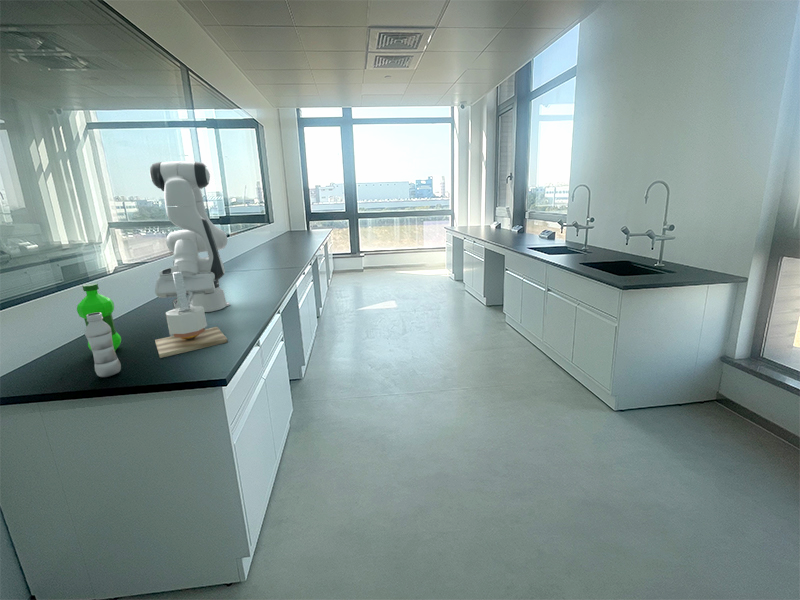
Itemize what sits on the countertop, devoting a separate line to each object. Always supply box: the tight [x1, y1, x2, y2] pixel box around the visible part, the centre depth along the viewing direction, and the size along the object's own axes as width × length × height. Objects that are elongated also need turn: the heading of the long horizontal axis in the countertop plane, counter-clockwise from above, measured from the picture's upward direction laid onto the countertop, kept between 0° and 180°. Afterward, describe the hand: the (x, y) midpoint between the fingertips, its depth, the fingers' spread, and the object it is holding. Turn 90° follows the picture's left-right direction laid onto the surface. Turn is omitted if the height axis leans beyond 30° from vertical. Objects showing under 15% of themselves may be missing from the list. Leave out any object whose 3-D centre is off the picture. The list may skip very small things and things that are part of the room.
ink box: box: [165, 297, 180, 337], centre depth 156 cm, size 4×8×15 cm, turn 17°
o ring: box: [174, 328, 206, 337], centre depth 146 cm, size 10×10×2 cm
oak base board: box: [154, 326, 228, 359], centre depth 147 cm, size 18×22×2 cm
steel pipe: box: [173, 272, 199, 341], centre depth 144 cm, size 6×6×26 cm
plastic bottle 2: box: [84, 312, 122, 378], centre depth 120 cm, size 6×7×20 cm
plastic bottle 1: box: [76, 283, 122, 352], centre depth 140 cm, size 10×10×25 cm
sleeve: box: [165, 305, 208, 334], centre depth 145 cm, size 12×12×7 cm
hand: (185, 304), depth 148 cm, fingers closed
